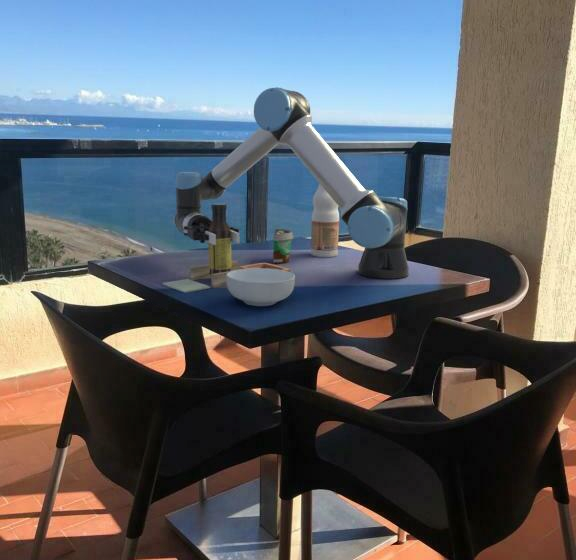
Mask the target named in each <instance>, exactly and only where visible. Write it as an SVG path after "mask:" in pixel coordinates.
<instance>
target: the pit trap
mask: <svg viewBox="0 0 576 560" xmlns="http://www.w3.org/2000/svg"><path fill="white" fill-rule="evenodd" d="M252 267H261V268H268V269H278V270H284V271H288V272H291V273H292V271H291V268H287V267H283V266H281V265H277V264H272V263H267V262H258V263H253V264H246V265H241V266H239V265H238V270H240V269H246V268H252Z"/></svg>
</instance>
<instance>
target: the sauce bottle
mask: <svg viewBox="0 0 576 560" xmlns="http://www.w3.org/2000/svg"><path fill="white" fill-rule="evenodd" d="M211 212H212V213H211V214H212V215H211V216H212V217H211V220H212V223H211V225H210V226H209V230H208V231H209V232H211V233H213V234H216V245H213V244H211V243H209V242H207V243H208V265H209V268H210V275H211V274H215V273H221V272H228V271H231V261H232V241H231V233H230V227H231V226H230V224H228V222H227V204H226V203H218V202H217V203H212V204H211ZM229 226H230V227H229Z"/></svg>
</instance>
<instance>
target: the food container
mask: <svg viewBox="0 0 576 560" xmlns="http://www.w3.org/2000/svg"><path fill="white" fill-rule="evenodd" d="M274 230H275V231H274V233H273V254H272V255H273V259H272V260H273V264H272V265H286V264H288V263H290V259H291V258H290V257H291V256H290V255H291V248H292V246H291V245H292V240H293V239H294V234H293V232H292V230H290V229H286V228H275V229H274Z"/></svg>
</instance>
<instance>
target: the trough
mask: <svg viewBox="0 0 576 560" xmlns="http://www.w3.org/2000/svg"><path fill="white" fill-rule="evenodd" d="M252 268H261V267H252ZM246 269H250V268H246ZM234 270H239V261H238V260H231V271H234ZM231 271H228V272H231ZM228 272H221V273H215V274H211V275H210V268H209V264H203V265H197V266H196V265H195V266H190V267H189V280H192V281H197V280H204V279H210V278H211V280H210V281H211V283H210V284H211V285H210V288H213V289H217V288H221V287H227V281H226V275H227V273H228Z"/></svg>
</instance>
